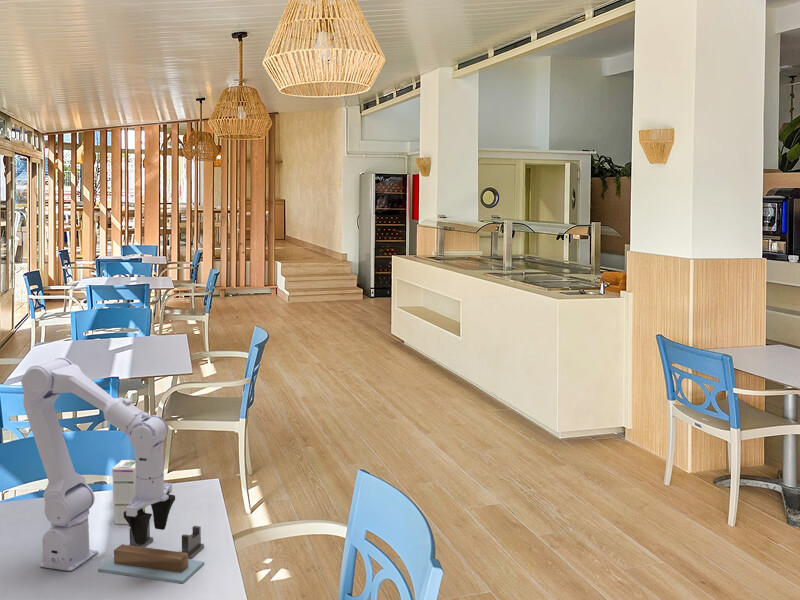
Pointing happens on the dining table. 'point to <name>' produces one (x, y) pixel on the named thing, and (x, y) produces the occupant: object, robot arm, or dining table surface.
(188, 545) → the bracket
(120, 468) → the syrup box
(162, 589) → the dining table surface
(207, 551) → the dining table surface
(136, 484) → the robot arm
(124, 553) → the rail
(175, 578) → the mat
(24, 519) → the dining table surface
